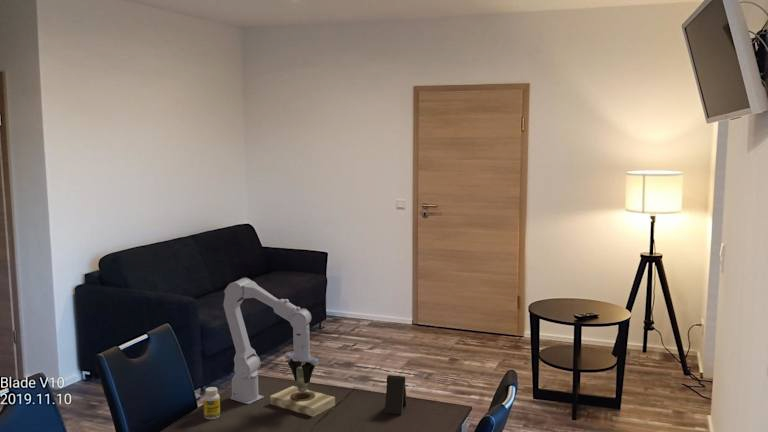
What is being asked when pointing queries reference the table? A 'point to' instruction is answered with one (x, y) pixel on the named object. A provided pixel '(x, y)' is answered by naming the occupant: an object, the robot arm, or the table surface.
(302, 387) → the green peg
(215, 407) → the supplement bottle
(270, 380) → the table surface
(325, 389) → the table surface
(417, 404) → the table surface
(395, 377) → the phone stand
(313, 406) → the socket board
